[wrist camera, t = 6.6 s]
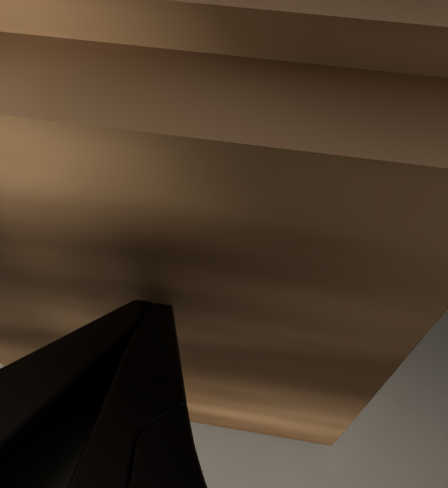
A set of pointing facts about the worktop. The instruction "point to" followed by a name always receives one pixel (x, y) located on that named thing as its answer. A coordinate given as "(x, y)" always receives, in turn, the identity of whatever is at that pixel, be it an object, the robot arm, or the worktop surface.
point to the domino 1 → (255, 29)
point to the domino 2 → (226, 218)
